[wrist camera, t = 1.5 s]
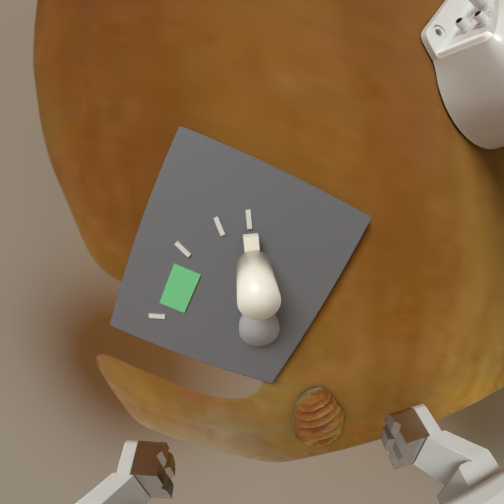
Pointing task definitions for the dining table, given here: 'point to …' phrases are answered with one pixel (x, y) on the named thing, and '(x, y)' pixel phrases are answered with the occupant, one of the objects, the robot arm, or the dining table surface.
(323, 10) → the dining table surface
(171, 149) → the dial plate
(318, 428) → the pastry
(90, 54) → the dining table surface
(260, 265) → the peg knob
